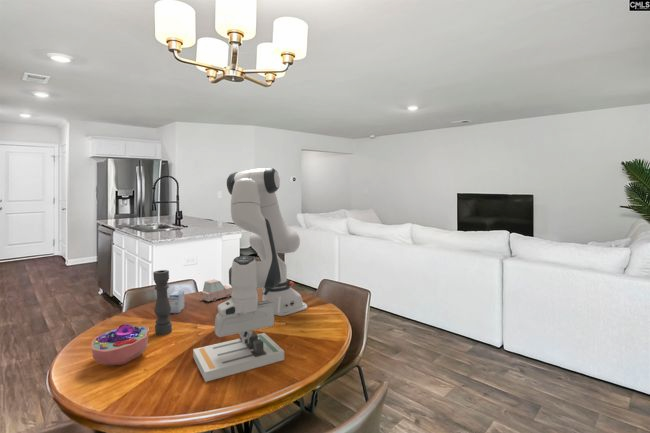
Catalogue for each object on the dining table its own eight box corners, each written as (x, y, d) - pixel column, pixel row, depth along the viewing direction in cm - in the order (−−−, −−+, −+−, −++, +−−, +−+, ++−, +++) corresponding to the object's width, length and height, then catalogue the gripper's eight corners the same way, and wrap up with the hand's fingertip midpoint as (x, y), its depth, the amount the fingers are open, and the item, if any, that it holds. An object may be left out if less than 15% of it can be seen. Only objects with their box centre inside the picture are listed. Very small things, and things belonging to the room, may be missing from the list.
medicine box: (175, 307, 172) (174, 290, 171) (184, 307, 172) (184, 290, 172) (169, 313, 164) (169, 295, 164) (179, 313, 165) (178, 295, 164)
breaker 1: (250, 336, 130) (249, 326, 130) (253, 340, 127) (253, 329, 126) (239, 339, 128) (239, 328, 128) (243, 343, 124) (242, 332, 124)
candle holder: (165, 336, 139) (162, 273, 137) (151, 334, 140) (149, 273, 138) (175, 329, 145) (172, 270, 143) (161, 328, 146) (159, 269, 144)
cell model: (76, 375, 110) (73, 340, 109) (116, 346, 130) (115, 316, 129) (128, 376, 109) (126, 341, 108) (161, 347, 129) (160, 317, 128)
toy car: (234, 296, 189) (234, 278, 188) (209, 304, 178) (208, 284, 177) (224, 293, 195) (224, 276, 194) (199, 300, 184) (199, 281, 183)
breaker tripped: (256, 342, 125) (256, 331, 125) (260, 346, 122) (260, 335, 121) (245, 345, 123) (245, 334, 123) (249, 349, 120) (249, 338, 119)
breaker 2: (261, 349, 120) (261, 337, 119) (266, 353, 116) (266, 342, 116) (250, 352, 118) (250, 340, 117) (254, 356, 114) (254, 345, 114)
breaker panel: (264, 340, 134) (264, 332, 134) (284, 359, 119) (284, 351, 119) (193, 357, 121) (193, 349, 120) (205, 381, 105) (204, 372, 105)
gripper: (270, 296, 128) (270, 333, 129) (212, 306, 118) (213, 346, 119) (276, 301, 122) (277, 340, 123) (217, 311, 112) (218, 353, 113)
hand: (245, 343), depth 121 cm, fingers closed
